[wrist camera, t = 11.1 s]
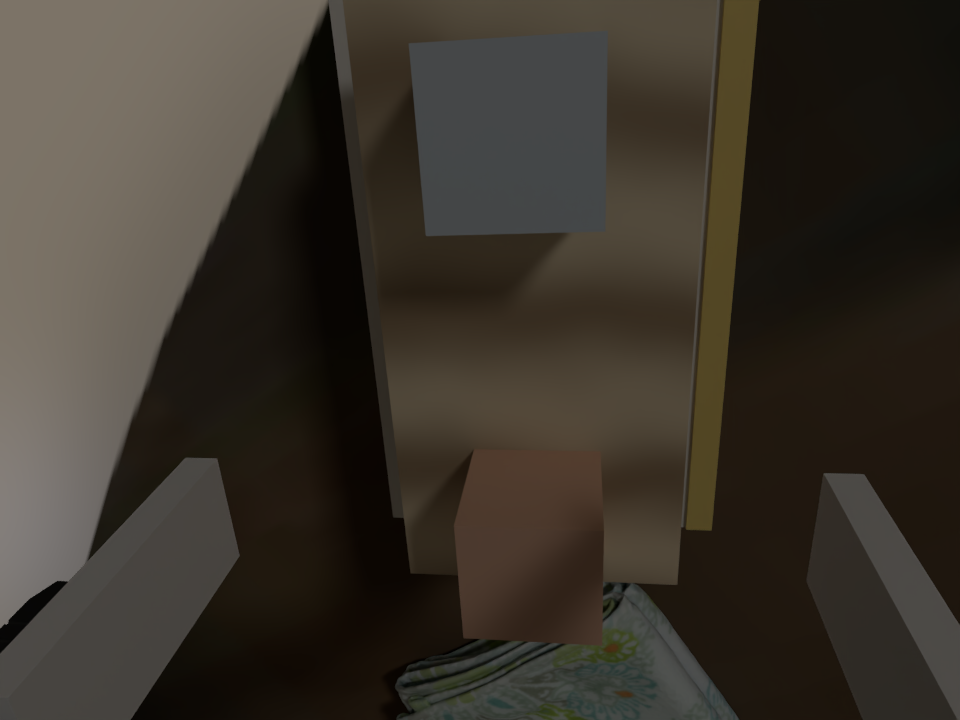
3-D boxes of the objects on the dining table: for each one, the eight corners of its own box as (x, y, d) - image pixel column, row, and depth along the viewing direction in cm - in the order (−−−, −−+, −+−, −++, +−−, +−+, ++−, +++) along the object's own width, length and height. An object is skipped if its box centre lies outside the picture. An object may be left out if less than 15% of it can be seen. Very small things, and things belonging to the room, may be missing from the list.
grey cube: (601, 194, 23) (605, 231, 19) (454, 199, 24) (425, 236, 20) (602, 30, 21) (607, 30, 17) (442, 40, 22) (408, 43, 18)
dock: (696, 472, 40) (711, 530, 35) (413, 465, 42) (392, 519, 38) (737, -70, 30) (767, -90, 25) (358, -41, 32) (319, -53, 27)
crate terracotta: (599, 554, 29) (602, 645, 25) (480, 549, 30) (463, 638, 25) (600, 451, 27) (604, 531, 23) (474, 449, 28) (453, 525, 24)
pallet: (661, 492, 35) (676, 584, 29) (438, 486, 37) (410, 573, 31) (688, -18, 26) (719, -33, 20) (393, 2, 28) (341, -6, 22)
